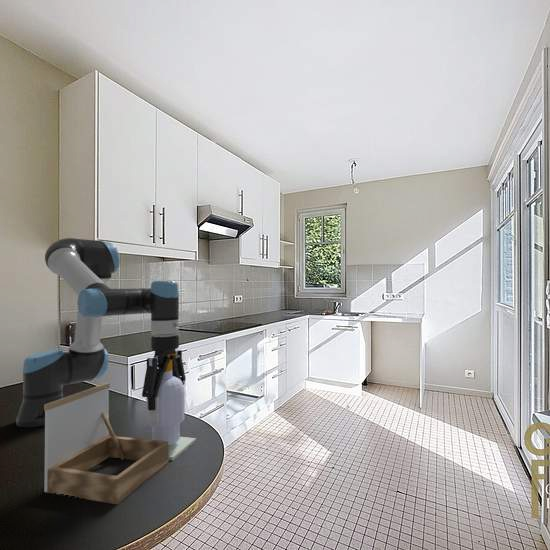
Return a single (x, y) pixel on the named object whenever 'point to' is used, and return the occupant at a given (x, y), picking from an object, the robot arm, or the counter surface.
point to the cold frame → (104, 487)
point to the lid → (74, 424)
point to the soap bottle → (169, 408)
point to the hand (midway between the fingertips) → (165, 414)
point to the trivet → (179, 447)
